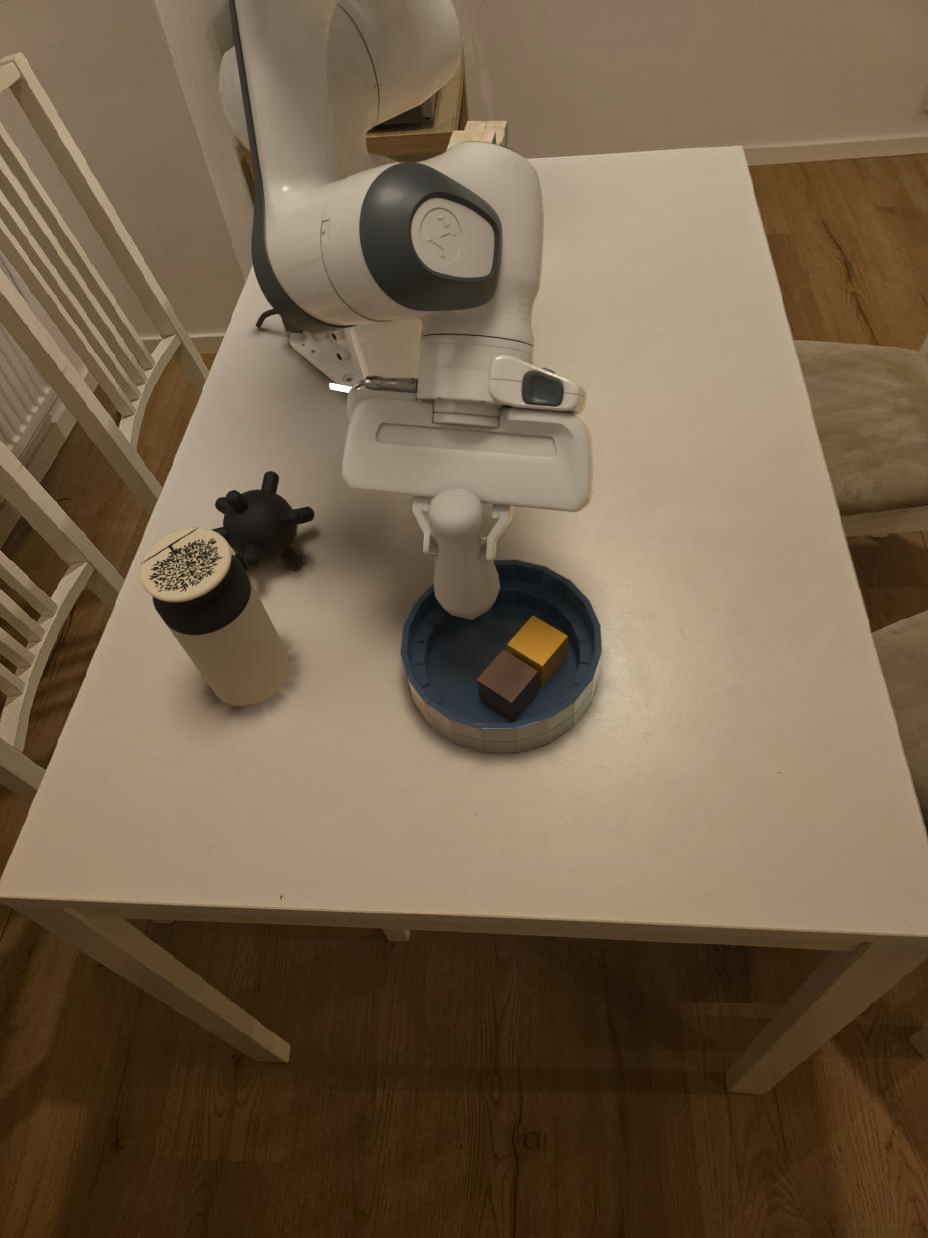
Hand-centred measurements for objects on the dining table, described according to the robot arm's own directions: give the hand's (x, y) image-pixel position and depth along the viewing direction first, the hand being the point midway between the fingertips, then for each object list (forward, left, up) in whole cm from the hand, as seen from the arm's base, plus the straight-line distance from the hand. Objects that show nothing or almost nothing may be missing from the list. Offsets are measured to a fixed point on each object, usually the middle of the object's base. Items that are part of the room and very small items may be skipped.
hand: (459, 557), depth 66 cm
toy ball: (-27, -2, -16) cm, 31 cm away
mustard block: (+6, +3, -15) cm, 16 cm away
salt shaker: (0, +1, -7) cm, 7 cm away
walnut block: (+6, -2, -15) cm, 16 cm away
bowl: (+3, +1, -16) cm, 16 cm away
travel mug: (-17, -14, -16) cm, 27 cm away
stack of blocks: (-47, +61, -16) cm, 78 cm away
